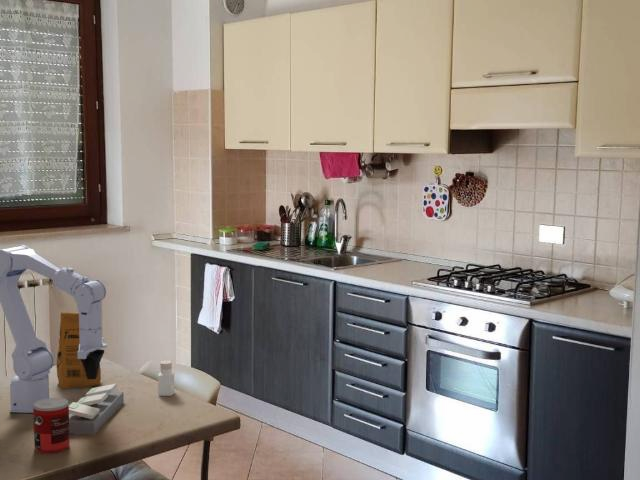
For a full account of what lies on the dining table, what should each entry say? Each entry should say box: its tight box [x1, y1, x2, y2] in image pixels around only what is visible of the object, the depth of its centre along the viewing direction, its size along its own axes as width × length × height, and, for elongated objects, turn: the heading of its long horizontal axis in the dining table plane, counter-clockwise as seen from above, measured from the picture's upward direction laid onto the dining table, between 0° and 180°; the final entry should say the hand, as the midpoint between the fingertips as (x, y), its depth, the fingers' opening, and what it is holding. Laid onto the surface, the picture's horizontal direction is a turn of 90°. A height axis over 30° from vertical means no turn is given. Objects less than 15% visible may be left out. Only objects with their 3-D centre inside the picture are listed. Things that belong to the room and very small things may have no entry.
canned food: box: [32, 397, 71, 454], centre depth 187 cm, size 8×8×11 cm
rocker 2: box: [76, 393, 108, 407], centre depth 208 cm, size 7×5×2 cm
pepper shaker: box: [157, 360, 175, 397], centre depth 227 cm, size 4×4×10 cm
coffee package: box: [56, 311, 102, 390], centre depth 234 cm, size 10×12×22 cm
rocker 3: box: [69, 401, 100, 420], centre depth 200 cm, size 7×5×2 cm
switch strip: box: [69, 391, 125, 435], centre depth 210 cm, size 9×28×3 cm, turn 177°
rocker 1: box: [85, 383, 118, 397], centre depth 216 cm, size 7×5×2 cm
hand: (92, 378), depth 207 cm, fingers closed
